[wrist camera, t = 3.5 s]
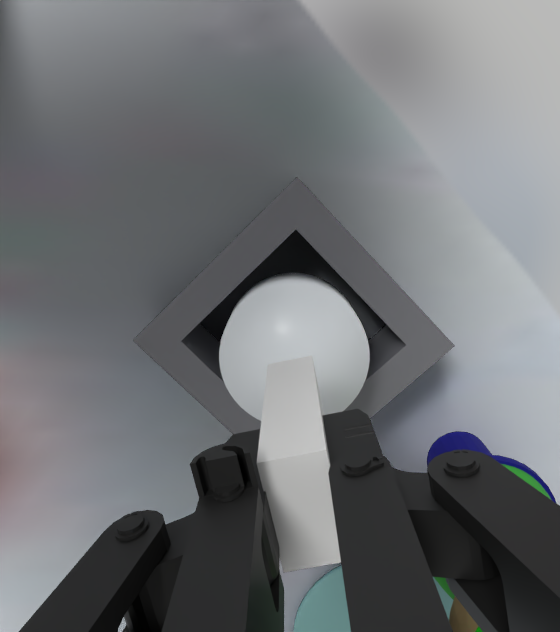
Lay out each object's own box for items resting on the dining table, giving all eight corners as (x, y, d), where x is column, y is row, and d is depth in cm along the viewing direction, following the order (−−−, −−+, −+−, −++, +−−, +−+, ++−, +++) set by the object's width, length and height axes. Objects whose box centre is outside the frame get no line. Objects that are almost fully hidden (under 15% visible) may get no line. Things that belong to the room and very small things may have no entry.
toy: (374, 416, 28) (469, 658, 14) (538, 402, 28) (813, 635, 13) (382, 559, 30) (472, 902, 16) (534, 548, 30) (770, 887, 15)
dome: (199, 336, 24) (187, 357, 21) (294, 244, 23) (296, 252, 20) (291, 424, 25) (291, 455, 22) (386, 339, 24) (400, 360, 21)
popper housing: (154, 318, 27) (132, 340, 23) (295, 178, 25) (296, 176, 21) (289, 446, 29) (290, 487, 25) (430, 323, 27) (454, 345, 23)
